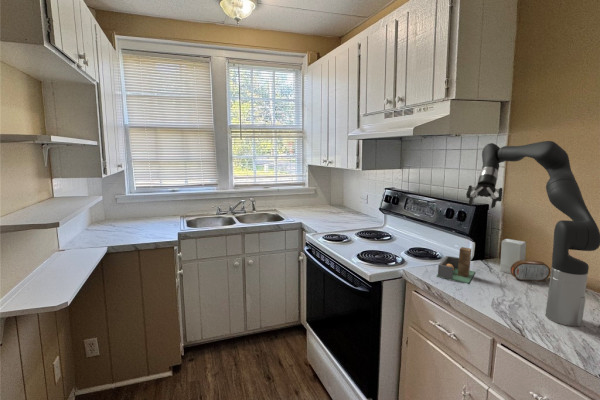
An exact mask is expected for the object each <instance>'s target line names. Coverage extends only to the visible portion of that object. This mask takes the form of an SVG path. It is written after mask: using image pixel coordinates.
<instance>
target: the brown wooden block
mask: <svg viewBox="0 0 600 400" xmlns="http://www.w3.org/2000/svg"><path fill="white" fill-rule="evenodd" d="M458 256H459V257H458V258H459V265H458V276H463V277H468V276H469V271H471V269H470V268H471V260H472V258H471V257H472V248H469V247H463V246H461V247H460V248H459V254H458Z"/></svg>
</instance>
